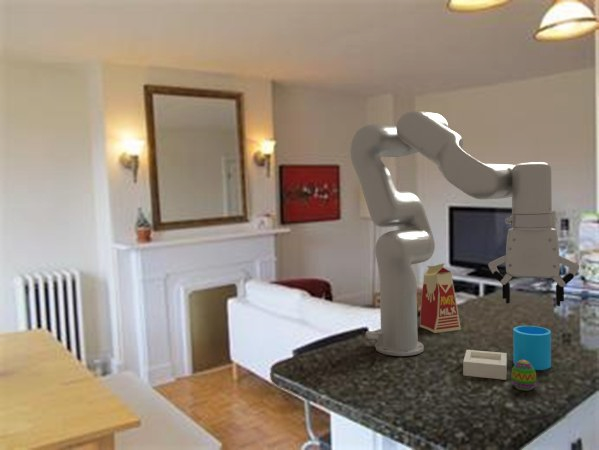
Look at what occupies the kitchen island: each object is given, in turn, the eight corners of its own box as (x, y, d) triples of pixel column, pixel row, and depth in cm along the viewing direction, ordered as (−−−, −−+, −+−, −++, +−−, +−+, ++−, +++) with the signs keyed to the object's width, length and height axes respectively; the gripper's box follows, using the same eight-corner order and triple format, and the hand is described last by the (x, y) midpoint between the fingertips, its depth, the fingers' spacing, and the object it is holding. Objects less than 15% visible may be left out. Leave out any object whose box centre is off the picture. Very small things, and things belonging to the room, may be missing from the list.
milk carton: (461, 329, 154) (460, 262, 153) (435, 333, 151) (434, 265, 149) (442, 322, 163) (441, 259, 161) (417, 326, 159) (416, 261, 158)
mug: (550, 372, 118) (550, 336, 117) (511, 367, 122) (511, 333, 121) (552, 356, 128) (552, 323, 128) (516, 352, 132) (516, 320, 132)
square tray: (463, 375, 117) (463, 361, 117) (466, 362, 126) (466, 349, 125) (506, 379, 114) (506, 365, 114) (506, 366, 122) (506, 353, 122)
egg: (506, 387, 109) (506, 360, 109) (517, 381, 113) (517, 354, 112) (529, 394, 106) (529, 365, 105) (540, 387, 109) (540, 359, 109)
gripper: (486, 224, 108) (487, 305, 109) (580, 223, 101) (580, 309, 102) (489, 221, 115) (490, 297, 116) (577, 220, 108) (578, 302, 109)
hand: (532, 303), depth 109 cm, fingers open, 9 cm apart
